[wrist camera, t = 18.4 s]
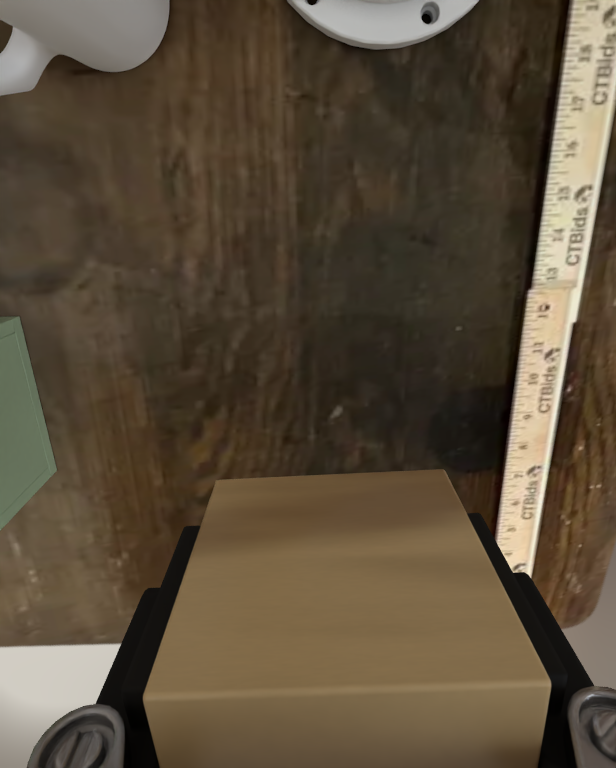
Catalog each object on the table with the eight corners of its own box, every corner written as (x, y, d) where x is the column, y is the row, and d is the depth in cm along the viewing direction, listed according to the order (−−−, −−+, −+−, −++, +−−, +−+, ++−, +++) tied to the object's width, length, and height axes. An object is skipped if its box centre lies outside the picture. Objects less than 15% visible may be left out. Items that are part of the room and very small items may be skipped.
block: (215, 478, 11) (138, 699, 6) (445, 467, 10) (555, 683, 6) (239, 648, 12) (196, 922, 8) (436, 640, 12) (515, 914, 7)
